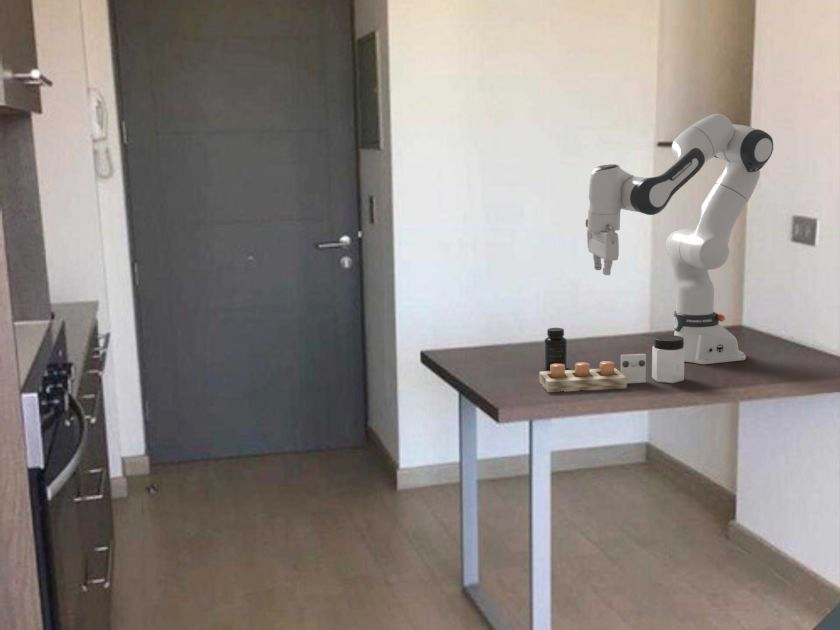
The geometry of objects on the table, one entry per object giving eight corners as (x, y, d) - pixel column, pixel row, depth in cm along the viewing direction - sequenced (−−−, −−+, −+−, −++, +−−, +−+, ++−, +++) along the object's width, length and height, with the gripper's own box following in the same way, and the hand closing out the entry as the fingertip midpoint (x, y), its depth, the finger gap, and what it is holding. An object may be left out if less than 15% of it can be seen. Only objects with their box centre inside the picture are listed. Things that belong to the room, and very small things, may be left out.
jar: (668, 384, 274) (669, 342, 271) (645, 379, 280) (646, 337, 278) (689, 379, 279) (691, 337, 276) (667, 373, 285) (668, 333, 283)
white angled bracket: (642, 379, 280) (643, 352, 278) (646, 382, 277) (646, 354, 275) (618, 380, 279) (618, 353, 277) (621, 383, 276) (621, 355, 275)
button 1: (562, 373, 277) (563, 363, 276) (566, 377, 273) (566, 366, 272) (548, 374, 276) (548, 363, 276) (552, 378, 273) (552, 367, 272)
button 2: (611, 371, 278) (612, 360, 277) (616, 374, 274) (616, 364, 273) (597, 371, 278) (598, 361, 277) (601, 375, 274) (602, 365, 273)
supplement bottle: (543, 365, 298) (543, 326, 296) (566, 365, 298) (566, 326, 296) (545, 371, 291) (545, 331, 289) (568, 371, 291) (568, 331, 289)
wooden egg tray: (615, 378, 282) (615, 367, 282) (626, 388, 271) (626, 377, 271) (539, 381, 280) (539, 371, 280) (547, 392, 270) (547, 381, 269)
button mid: (587, 372, 277) (587, 362, 277) (591, 376, 273) (591, 365, 273) (573, 373, 277) (573, 362, 276) (577, 376, 273) (577, 366, 273)
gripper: (625, 227, 267) (623, 277, 269) (605, 219, 287) (603, 267, 289) (602, 227, 266) (600, 278, 269) (584, 220, 286) (582, 267, 289)
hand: (602, 272), depth 279 cm, fingers open, 8 cm apart
